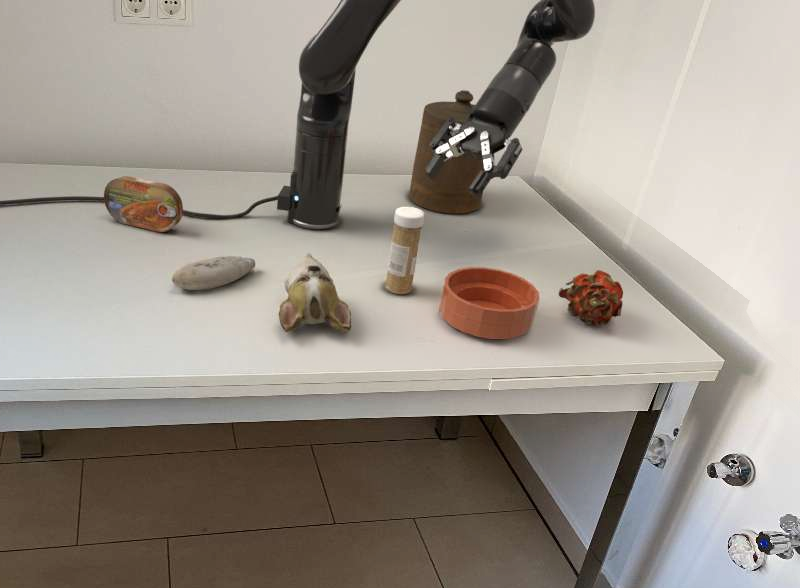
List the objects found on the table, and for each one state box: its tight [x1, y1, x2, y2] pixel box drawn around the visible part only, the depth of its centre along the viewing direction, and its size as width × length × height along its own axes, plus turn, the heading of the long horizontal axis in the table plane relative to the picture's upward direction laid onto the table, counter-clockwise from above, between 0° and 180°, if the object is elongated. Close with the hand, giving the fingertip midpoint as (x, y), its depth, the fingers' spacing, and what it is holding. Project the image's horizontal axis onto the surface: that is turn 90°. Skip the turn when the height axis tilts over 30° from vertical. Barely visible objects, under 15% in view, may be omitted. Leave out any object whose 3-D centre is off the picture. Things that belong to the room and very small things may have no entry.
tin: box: [103, 175, 184, 233], centre depth 140 cm, size 15×3×8 cm, turn 68°
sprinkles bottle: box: [384, 206, 425, 295], centre depth 125 cm, size 5×5×14 cm
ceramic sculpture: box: [278, 252, 352, 333], centre depth 117 cm, size 11×9×15 cm
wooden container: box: [408, 89, 484, 215], centre depth 157 cm, size 15×15×22 cm
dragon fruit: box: [558, 269, 624, 326], centre depth 123 cm, size 8×8×12 cm
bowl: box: [438, 266, 540, 340], centre depth 121 cm, size 14×14×6 cm
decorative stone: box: [171, 255, 256, 291], centre depth 126 cm, size 6×16×3 cm, turn 130°
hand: (449, 185), depth 126 cm, fingers open, 8 cm apart
